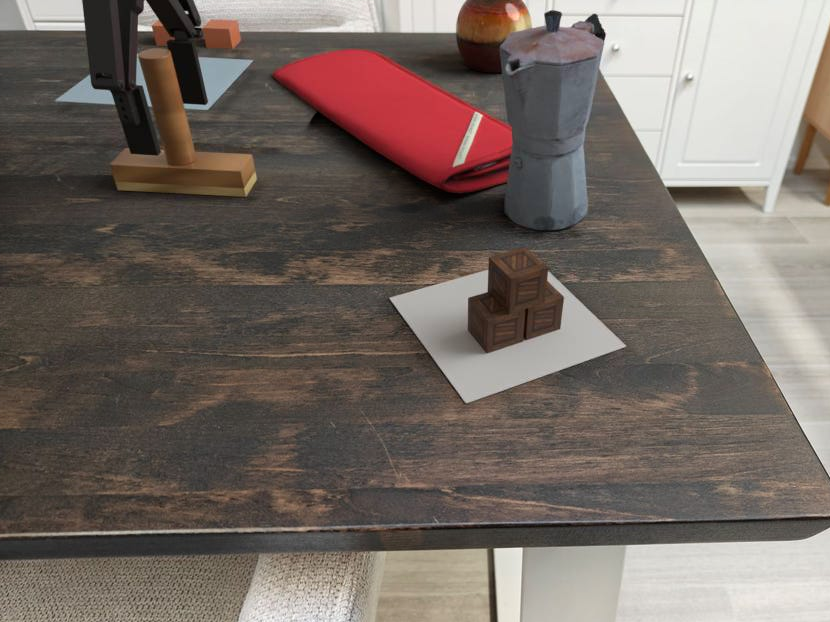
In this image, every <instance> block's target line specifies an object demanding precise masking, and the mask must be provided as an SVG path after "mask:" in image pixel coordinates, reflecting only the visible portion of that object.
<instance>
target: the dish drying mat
mask: <svg viewBox="0 0 830 622" xmlns="http://www.w3.org/2000/svg"><path fill="white" fill-rule="evenodd" d="M271 77H272V78H273V79H274V80H276V81H277V82H278V83H280V84H281V85H283V86H284V87H286V88H287V89H289V90H290V91H291V92H293V93H294V94H296V95H297V96H298V97H299V98H300V99H301V100H303V101H305V102H306V103H307V104H309V105H310V106H311V107H312V108H314V109H315V110H316V111H317V112H318V113H320V114H321V115H323V116H324V117H326V118H327V119H328V120H329V121H331V122H333V123H334V124H335V125H337V126H338V127H340V128H341V129H342V130H345V132H347V133H349V134H351V135H352V136H354V137H355V138H356V139H357V140H359V141H360V142H361V143H363V144H365V145H366V146H368V147H369V148H371V149H372V150H374V151H375V152H377V153H378V154H380V155H381V156H383V157H384V158H386V159H388V160H389V161H391V162H393V163H395V164H396V165H397V166H399V167H401V168H402V169H403V170H405V171H407V172H408V173H410V174H412V175H413V176H415V177H417V178H419V179H420V180H422V181H424V182H426V183H428V184H429V185H432V186H434V187H435V188H437V189H441V190H443V191H445V192H447V193H452V194H468V193H473V192H477V191H482V190H484V189H489V188H491V187H495V186H498V185H501V184H505V183H507V178H508V172H509V164H510V156H511V149H512V142H513V141H512V127H511V126H510V125H509V124H508V123H505V122H503V121H502V120H500V119H498V118H495V117H493V116H492V115H490V114H488V113H486V112H484V111H483V110H481V109H479V108H477V107H476V106H474V105H472V104H470V103H468V102H467V101H466V100H463V99H461V98H460V97H458V96H456V95H454V94H453V93H451V92H449V91H447V90H445V89H443V88H441V87H439V86H437V85H436V84H434V83H432V82H430V81H428V79H425V78H423V77H421V76H420V75H418V74H416V73H415V72H413V71H411V70H409V69H408V68H406V67H403V66H402V65H400V64H398V63H397V62H395V61H393V60H392V59H391V58H390V57H388V56H386V55H384V54H382V53H379V52H375V51H372V50H368V49H359V48H347V49H340V50H333V51H328V52H324V53H318V54H315V55H310V56H308V57H304V58H301V59H298V60H295V61H292V62H290V63H287V64H285V65H283V66H280V67H278V68H277V69H276V70H275V71H273V73H272V75H271Z"/></svg>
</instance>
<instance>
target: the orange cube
mask: <svg viewBox="0 0 830 622" xmlns="http://www.w3.org/2000/svg"><path fill="white" fill-rule="evenodd" d="M151 28H152V32H153V37H154V41H155V44H156V46H157V47H168V46H167V41H168V40H175V38H174V37H170V35H169V34H168V32H167V31H166V29H165V28H164V26H163V25H162V23H161V22H160V20H159V19H157V21H155V22H154V23H153V24H152V25H151Z"/></svg>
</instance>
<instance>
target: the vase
mask: <svg viewBox="0 0 830 622" xmlns="http://www.w3.org/2000/svg"><path fill="white" fill-rule="evenodd" d="M532 22H533V21H532V18H531V14H530V11H529V9H528V7H527V5H526V4H525V2H524V1H523V0H465V1H464V2H463V4H462V6H461V7H460V9H459V11H458V15H457V18H456V22H455V40H456V45H457V49H458V52H459V55H460V57H461V59H462V60H463V62H464V63H465V64H466V65H467V66H468V67H469V68H471V69H472V70H474V71H478V72H482V73H490V74H491V73H492V74H495V73H496V74H499V73H501V74H502V67H501V58H500V46H501V45H502V44H503V42H504V41H505V40H506V39H507V37H508V36H509V35H510V33H512V32H517V31H522V30H526V29H531V28H533V23H532Z"/></svg>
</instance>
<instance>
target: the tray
mask: <svg viewBox="0 0 830 622" xmlns="http://www.w3.org/2000/svg"><path fill="white" fill-rule="evenodd" d="M138 54H139V53H137V71H136V85H141V86H143V89H144V93H145V96H146V100H147V103H148V107H149V108H152V105H151V101H150V98H149V94H148V90H147V87H146V83H145V79H144V76H143V72H142V69H141V65H140V61H139V58H138ZM198 59H199V63H200V68H201V72H202V77H203V81H204V86H205V90H206V95H207V99H208V103H207V104H206V105H197V104H184V108H185V110H199V111H208V110H209V109H210V108H211V107H212V106H213V105H214V103H215V102H216V101H217V100H218V99H219V98H220V97H221V96H222V95H223V94H224V93H225V92H226V91H227V90H228V88H230V86H231V85H233V83H234V82H235V81H236V80H237V79H238V78H239V77H240V76H241V74H242V73H243V72H244V71H245V70H246V69H247V68H248V67H249V66H250V65H251V64H252V63H253V61H254V59H243V58H242V59H239V58H238V59H237V58H223V57H222V58H220V57H204V56H203V57H202V56H198ZM54 102H62V103H63V102H65V103H80V104H96V105H97V104H98V105H113V106H115V102H114V99H113V96H112V93H111V92H110V91H109V90H98V89H94V88H93V87H92V85H91V78H90V74H88V75H87V76H86V77H85V78H83V79H82V80H80V81H79V82H77V83H76V84H75V85H73V86H72V87H71V88H69V90H66V92H64V93H63V94H61V95H60V96H59V97H57V98H56V99H55V100H54Z"/></svg>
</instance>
